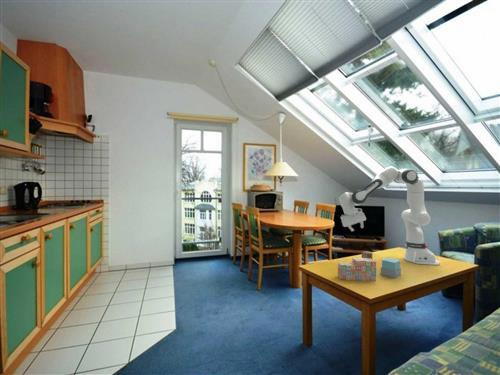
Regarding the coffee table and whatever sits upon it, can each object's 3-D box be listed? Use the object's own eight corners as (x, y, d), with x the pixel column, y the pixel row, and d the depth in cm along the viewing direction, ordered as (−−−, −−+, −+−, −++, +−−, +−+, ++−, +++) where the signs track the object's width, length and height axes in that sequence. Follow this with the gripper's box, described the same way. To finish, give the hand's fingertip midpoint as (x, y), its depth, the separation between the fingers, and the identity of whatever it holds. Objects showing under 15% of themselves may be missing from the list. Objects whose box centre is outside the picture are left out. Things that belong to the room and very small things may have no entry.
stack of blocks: (340, 280, 156) (340, 260, 156) (337, 276, 162) (337, 257, 162) (376, 281, 155) (376, 261, 154) (371, 277, 161) (372, 258, 160)
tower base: (386, 271, 171) (386, 264, 171) (400, 275, 164) (400, 267, 164) (380, 274, 165) (380, 267, 165) (395, 278, 159) (395, 271, 158)
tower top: (386, 264, 170) (387, 257, 170) (399, 267, 164) (400, 260, 164) (381, 267, 165) (382, 259, 165) (395, 270, 159) (395, 262, 159)
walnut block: (367, 264, 185) (367, 251, 184) (372, 266, 180) (372, 253, 180) (361, 265, 183) (361, 251, 183) (366, 267, 178) (366, 253, 178)
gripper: (342, 214, 191) (349, 232, 187) (363, 208, 197) (370, 225, 193) (337, 216, 196) (344, 233, 193) (357, 210, 203) (365, 226, 199)
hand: (357, 229), depth 193 cm, fingers open, 8 cm apart
